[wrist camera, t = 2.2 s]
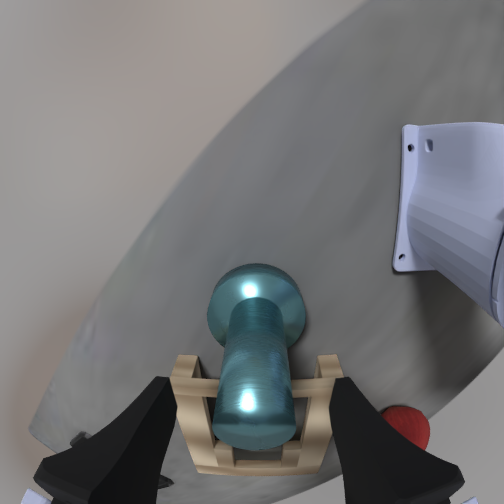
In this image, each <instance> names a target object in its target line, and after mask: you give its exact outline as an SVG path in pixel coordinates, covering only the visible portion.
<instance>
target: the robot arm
mask: <svg viewBox="0 0 504 504" xmlns="http://www.w3.org/2000/svg"><path fill="white" fill-rule="evenodd" d="M408 145H410V146H411V148H412V150H411V152H409V151H408ZM401 254H403V257H402V258H401V259H399V256H400V255H401ZM392 264H393V268H394V269H395V270H396V271H399V272H401V271H425V270H438V271H439V272H440V273H441V274H443V275H444V276H445V277H446V278H448V279H449V280H450V281H451V282H452V283H454V284H455V285H456V286H457V287H458V288H460V289H461V290H462V291H463V292H464V293H466V294H467V295H468V296H469V297H470V298H471V299H472V300H474V301H475V302H476V303H477V304H478V305H479V306H480V307H482V308H483V309H484V310H485V311H486V312H487V313H488V314H489V315H490V316H491V317H493V318H494V319H495V320H496V321H497V322H498V323H499V324H500V325H501V326H502V327H503V328H504V125H502V124H495V123H485V122H465V123H448V124H436V125H425V126H416V125H405V126H404V127H403V128H402V166H401V188H400V203H399V214H398V224H397V233H396V241H395V249H394V256H393V263H392ZM177 408H178V406H177V402H176V399H175V396H174V392H173V389H172V385H171V382H170V378H169V377H159V376H156V377H155V378H154V379H153V380H152V382H151V383H150V384H149V385H148V386H147V387H146V388H145V389H144V391H143V392H142V393H141V394H140V395H139V396H138V397H137V398H136V399H135V400H134V401H133V402H132V403H131V404H130V405H129V406H128V407H127V408H126V409H125V410H124V411H123V412H122V413H121V414H120V415H119V416H118V417H117V418H116V419H114V420H113V421H112V422H111V423H110V424H108V425H107V426H106V427H105V428H103V429H102V430H101V431H99V432H98V433H96V434H95V435H93V436H92V437H90V438H89V439H87V440H85V441H84V442H82V443H80V444H78V445H76V446H74V447H72V448H70V449H68V450H66V451H63V452H61V453H58V454H55V455H53V456H50V457H46V458H43V460H42V462H41V464H40V465H39V468H38V469H37V471H36V474H35V475H34V477H33V478H34V481H35V482H36V483H37V484H38V485H39V486H40V487H41V488H43V489H44V490H45V491H46V492H48V493H49V494H50V495H51V496H53V497H54V498H53V500H52V501H50V500H49V499H47V498H45V497H43V496H42V495H40V494H38V493H36V492H35V491H33V490H31V489H30V488H28V489H27V491H26V493H25V495H24V498H23V500H22V502H21V504H156V498H157V490H158V484H159V478H160V472H161V468H162V464H163V460H164V457H165V454H166V451H167V448H168V445H169V441H170V438H171V435H172V432H173V429H174V425H175V420H176V414H177ZM329 415H330V423H331V428H332V432H333V436H334V440H335V444H336V448H337V451H338V455H339V459H340V463H341V467H342V472H343V480H344V489H345V500H346V504H450V503H451V502H450V500H449V497H450V496H452V495H453V494H454V493H455V492H456V491H458V490H459V489H460V488H461V487H462V486H463V484H464V483H465V481H464V478H463V476H462V473H461V471H460V469H459V468H458V466H457V465H454V464H452V463H449V462H447V461H444V460H442V459H440V458H437V457H436V456H434V455H432V454H430V453H428V452H426V451H425V450H423V449H422V448H420V447H418V446H417V445H415V444H414V443H412V442H411V441H409V440H408V439H407V438H405V437H404V436H403V435H402V434H400V433H399V432H398V431H397V430H396V429H395V428H393V427H392V426H391V425H390V424H389V423H388V422H387V421H386V420H385V419H384V418H383V417H382V416H381V415H380V414H379V413H378V412H377V410H376V409H375V408H374V407H373V406H372V405H371V404H370V402H369V401H368V400H367V399H366V398H365V396H364V395H363V394H362V393H361V391H360V390H359V389H358V388H357V386H356V385H355V384H354V382H353V381H352V380H351V378H350V377H342V378H335V382H334V387H333V391H332V395H331V399H330V403H329ZM461 504H478V501H477V498H476V497H472V498H471V499H469V500H467V501H465V502H463V503H461Z"/></svg>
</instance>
